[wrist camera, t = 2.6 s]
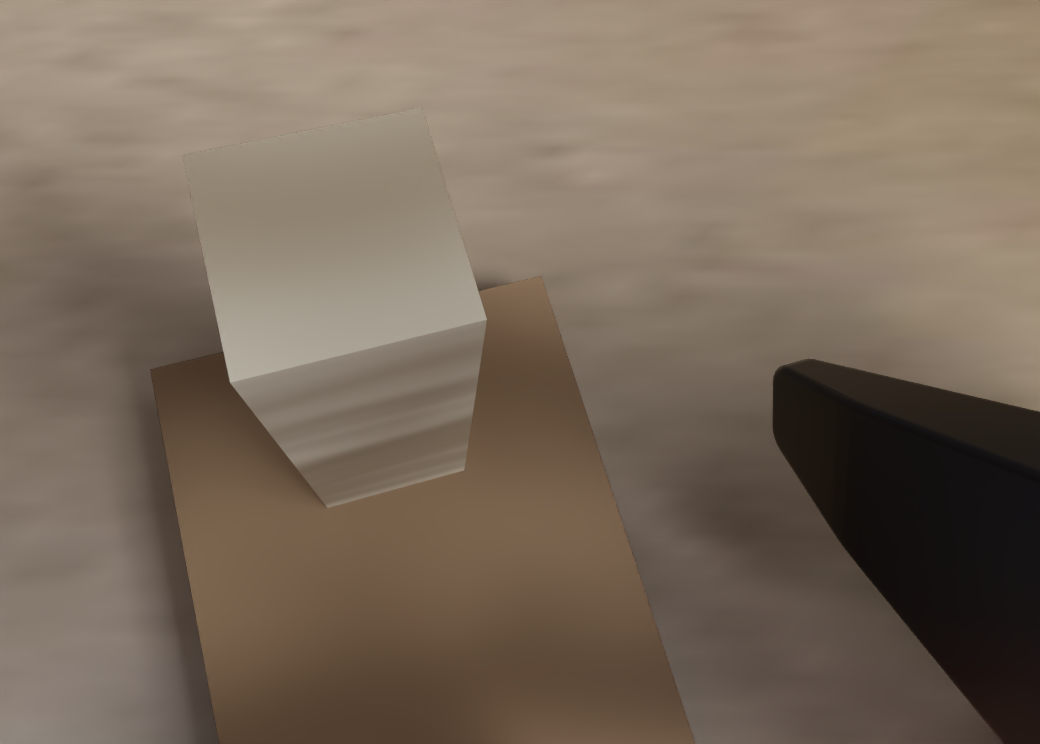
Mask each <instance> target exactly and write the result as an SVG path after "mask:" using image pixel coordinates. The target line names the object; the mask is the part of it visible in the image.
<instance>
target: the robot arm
mask: <svg viewBox="0 0 1040 744" xmlns="http://www.w3.org/2000/svg"><path fill="white" fill-rule="evenodd" d="M773 433H774V437H775V440H776V443H777V445H778V447H779V449H780V450H781V452H782V453H783V455H784V456H785V458H786V460H787V461H788V463H789V464H790V466H791V467H792V469H793V470H794V472H795V474H796V475H797V477H798V478H799V480H800V481H801V483H802V484H803V486H804V488H805V489H806V491H807V492H808V494H809V495H810V497H811V498H812V500H813V502H814V503H815V505H816V506H817V508H818V509H819V511H820V512H821V514H822V516H823V517H824V519H825V520H826V522H827V523H828V525H829V526H830V528H831V530H832V531H833V532H834V534H835V535H836V537H837V538H838V540H839V541H840V543H841V544H842V545H843V547H844V548H845V549H846V551H847V552H848V553H849V554H850V556H851V557H852V558H853V560H854V561H855V562H856V563H857V565H858V566H859V567H860V568H861V570H862V571H863V572H864V573H865V574H866V576H867V577H868V578H869V579H870V581H871V582H872V583H873V584H874V585H875V587H876V588H877V589H878V590H879V592H880V593H881V594H882V595H883V597H884V598H885V599H886V600H887V601H888V603H889V604H890V605H891V606H892V608H893V609H894V610H895V611H896V612H897V614H898V615H899V616H900V617H901V619H902V620H903V621H904V622H905V624H906V625H907V626H908V627H909V628H910V630H911V631H912V632H913V633H914V635H915V636H916V637H917V638H918V639H919V641H920V642H921V643H922V644H923V646H924V647H925V648H926V649H927V651H928V652H929V653H930V654H931V655H932V657H933V658H934V659H935V660H936V662H937V663H938V664H939V665H940V666H941V668H942V669H943V670H944V671H945V673H946V674H947V675H948V676H949V678H950V679H951V680H952V681H953V682H954V684H955V685H956V686H957V687H958V689H959V690H960V691H961V692H962V693H963V695H964V696H965V697H966V698H967V700H968V701H969V702H970V703H971V705H972V706H973V707H974V708H975V709H976V711H977V712H978V713H979V714H980V716H981V717H982V718H983V719H984V720H985V722H986V723H987V724H988V725H989V727H990V728H991V729H992V730H993V732H994V733H995V734H996V735H997V736H998V738H999V739H1000V740H1001V741H1002V743H1003V744H1040V412H1039V411H1034V410H1030V409H1026V408H1021V407H1017V406H1013V405H1008V404H1004V403H1000V402H995V401H991V400H987V399H982V398H978V397H974V396H970V395H965V394H961V393H957V392H952V391H948V390H944V389H939V388H935V387H931V386H926V385H922V384H918V383H914V382H909V381H905V380H901V379H896V378H892V377H888V376H883V375H879V374H875V373H870V372H866V371H862V370H857V369H853V368H849V367H845V366H840V365H836V364H832V363H827V362H823V361H819V360H814V359H805V360H801V361H797V362H794V363H790V364H787V365H783V366H780V367H779V368H778V369H777V370H776V371H775V374H774V378H773Z"/></svg>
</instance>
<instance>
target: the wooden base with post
mask: <svg viewBox="0 0 1040 744" xmlns="http://www.w3.org/2000/svg"><path fill="white" fill-rule="evenodd" d="M182 157H183V162H184V167H185V172H186V176H187V181H188V186H189V190H190V195H191V200H192V205H193V209H194V214H195V219H196V224H197V228H198V233H199V238H200V243H201V247H202V252H203V257H204V262H205V266H206V271H207V276H208V281H209V285H210V290H211V295H212V300H213V304H214V309H215V314H216V319H217V323H218V328H219V333H220V338H221V342H222V347H223V352H222V353H217V354H213V355H209V356H205V357H201V358H196V359H192V360H188V361H184V362H180V363H176V364H171V365H167V366H163V367H159V368H155V369H150V371H151V376H152V382H153V387H154V393H155V398H156V404H157V409H158V414H159V420H160V425H161V431H162V436H163V442H164V447H165V452H166V458H167V463H168V469H169V474H170V480H171V485H172V490H173V496H174V501H175V507H176V512H177V518H178V523H179V528H180V534H181V539H182V545H183V550H184V556H185V561H186V566H187V572H188V577H189V583H190V588H191V594H192V599H193V604H194V610H195V615H196V621H197V626H198V632H199V637H200V642H201V648H202V653H203V659H204V664H205V669H206V675H207V680H208V686H209V691H210V697H211V702H212V707H213V713H214V718H215V724H216V729H217V735H218V740H219V744H695V741H694V738H693V735H692V732H691V729H690V726H689V723H688V720H687V717H686V714H685V711H684V708H683V705H682V702H681V699H680V696H679V693H678V690H677V687H676V684H675V681H674V678H673V675H672V672H671V669H670V666H669V663H668V660H667V657H666V654H665V650H664V647H663V644H662V641H661V638H660V635H659V632H658V629H657V626H656V623H655V620H654V617H653V614H652V611H651V608H650V605H649V602H648V599H647V596H646V593H645V590H644V587H643V584H642V581H641V578H640V575H639V572H638V569H637V566H636V563H635V560H634V556H633V553H632V550H631V547H630V544H629V541H628V538H627V535H626V532H625V529H624V526H623V523H622V520H621V517H620V514H619V511H618V508H617V505H616V502H615V499H614V496H613V493H612V490H611V487H610V484H609V481H608V478H607V475H606V472H605V469H604V465H603V462H602V459H601V456H600V453H599V450H598V447H597V444H596V441H595V438H594V435H593V432H592V429H591V426H590V423H589V420H588V417H587V414H586V411H585V408H584V405H583V402H582V399H581V396H580V393H579V390H578V387H577V384H576V381H575V378H574V374H573V371H572V368H571V365H570V362H569V359H568V356H567V353H566V350H565V347H564V344H563V341H562V338H561V335H560V332H559V329H558V326H557V323H556V320H555V317H554V314H553V311H552V308H551V305H550V302H549V299H548V296H547V293H546V290H545V287H544V283H543V280H542V277H541V276H539V277H535V278H531V279H527V280H523V281H518V282H514V283H510V284H506V285H502V286H498V287H493V288H489V289H485V290H481V291H478V288H477V285H476V282H475V279H474V275H473V272H472V269H471V266H470V262H469V259H468V256H467V253H466V249H465V246H464V243H463V239H462V236H461V233H460V230H459V226H458V223H457V220H456V217H455V213H454V210H453V207H452V203H451V200H450V197H449V194H448V190H447V187H446V184H445V181H444V177H443V174H442V171H441V167H440V164H439V161H438V158H437V154H436V151H435V148H434V145H433V141H432V138H431V135H430V131H429V128H428V125H427V122H426V118H425V115H424V112H423V109H422V108H417V109H412V110H407V111H402V112H397V113H392V114H387V115H382V116H377V117H372V118H367V119H362V120H357V121H352V122H347V123H341V124H336V125H331V126H326V127H321V128H316V129H311V130H306V131H301V132H296V133H291V134H286V135H281V136H276V137H271V138H266V139H261V140H256V141H251V142H246V143H241V144H236V145H231V146H225V147H220V148H215V149H210V150H205V151H200V152H195V153H190V154H185V155H182Z"/></svg>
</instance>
